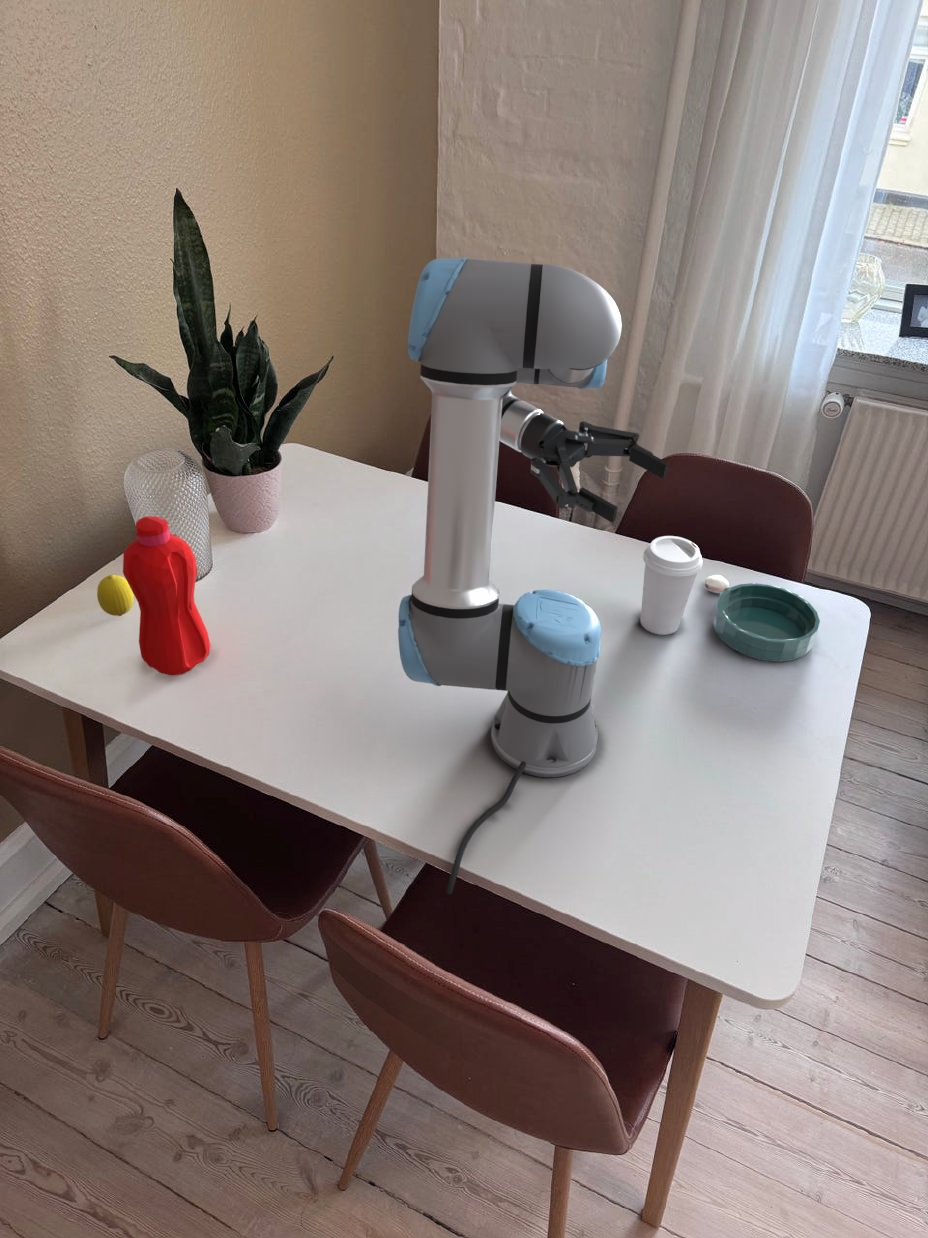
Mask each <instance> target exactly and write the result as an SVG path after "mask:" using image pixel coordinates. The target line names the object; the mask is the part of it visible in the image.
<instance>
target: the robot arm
mask: <svg viewBox="0 0 928 1238" xmlns="http://www.w3.org/2000/svg"><path fill="white" fill-rule="evenodd" d="M411 309H412V310H411V314H410V322H409V328H408V335H407V343H408V345H407V354H408V358H409V359H410V360H412V361H414V363H415V362H416V363H420V371H419V372H420V375H419V376H420V379H421V380H422V382H423V383H424V384H425V385H426V386H427V387H428V388H429V390H430V392H431V411H430V433H429V454H428V456H429V457H428V474H427V475H428V476H427V479H428V480H427V495H426V496H427V497H426V498H427V499H426V518H425V519H426V521H425V525H426V526H425V540H424V541H425V542H424V565H423V575H422V576H421V577H419V578H418V580H416V581H414V582H413V584H412V586H411V594H408V595H404V596H403V597H402V598H401V600H400V604H399V607H398V627H397V638H398V640H397V641H398V649H399V656H400V663H401V665H402V670H403V672H404V674H405V675H406V677H407V678H408V679H410V680H411V681H413V682H417V683H423V684H430V685H434V686H436V687H441V686H446V687H458V688H468V689H469V688H471V689H480V690H481V689H482V690H492V691H493V690H494V691H505V692H506V694H505V696H504V697H503V699H502V702H501V703H500V705H499V707H498V709H497V710H496V713H495V715H494V716H493V719H492V723H491V733H490V736H491V737H490V738H491V744H492V747H493V749H494V751H495V753H496V754H497V756H499V758H500V759H501V760H502V761H503V762H504V763H505V764H507V765H508V766H509V767H511V768H512V769H515V772H514V774H513V776H512V778H511V780H510V781H509V784H508V786H507V788H506V790H505V793H504V794H503V796H502V797H501V798H500V799H499V800H498V802H496V803H495V804H493V805H492V806H490V808H488V809H486V810H485V811H484V812H483V813H482V814H481V815H480V816H479V817H478V818H477V819H476V820H475V821H474V822H473V823H472V824H471V825H470V827H469V828H468V830H466V833H465V835H464V836H463V837H462V840H461V842H460V844H459V846H458V848H457V851H456V855H455V857H454V861H453V864H452V869H451V872H450V875H449V878H448V882H447V885H446V889H445V893H446V895H451V894H452V893H453V891H454V887H455V884H456V880H457V877H458V874H459V873H458V872H459V870H460V867H461V862H462V859H463V856H464V854H465V850H466V849H467V846H468V844H469V843H470V840H471V839H472V837H473V835H474V833H475V832H476V831H477V830H478V828H479V827H480V826H481V825H482V824H483V823H484V822H485V821H487V820H488V818H490V816H492V815H493V814H494V813H496V812H497V811H499V810H500V809H502V808H503V807H504V805H505V804H506V803H507V802H508V800H509V799H510V798H511V796H512V793H513V792H514V789H515V787H516V785H517V783H518V782H519V779H520V778H521V776H522V774H527V775H529V776H534V777H540V778H559V777H565V776H568V775H569V776H570V775H573V774H574V773H577V772H578V771H581V770H582V769H583V768H585V767H586V766H587V765H588V764H590V762H591V761H592V759H593V758H594V756H595V755H596V752H597V747H598V741H599V730H598V725H597V724H596V720H595V717H594V712H593V711H594V709H595V705H592V703H591V702H592V698H593V697H592V696H593V690H594V682H595V677H596V670H597V663H598V659H599V658H600V655H601V650H602V649H601V647H602V646H601V637H602V636H601V635H602V628H601V623H600V620H599V617H598V616H597V614H596V613H595V612H594V611H593V609H592V608H591V607H590V606H589V605H586V604H585V602H584V601H583V600H581V599H579V598H577V597H576V596H574V595H571V594H569V593H566V592H564V591H561V590H560V591H559V590H554V589H535V590H533V591H532V592H526V593H524V594H523V595H521V596H520V597H519V598H518V600H516V602H515V603H514V604H509V603H508V604H507V603H500V590H499V588H498V587H497V586H496V585H495V583H493V581H492V580H491V579H490V574H491V573H490V572H491V561H492V560H491V558H492V545H493V531H494V519H495V506H496V505H495V504H496V492H497V491H496V490H497V477H498V464H499V451H500V450H499V449H500V442H501V443H503V444H504V445H506V446H508V447H509V448H511V449H513V450H515V451H516V452H519V453H522V455H524V456H525V457H527V458H528V459H530V460H531V461H530V474H531V475H533V476H534V477H535V478H537V479H538V480H539V481H540V483H541V484H542V485H543V487H544V489H545V490H546V491H547V493H548V494H549V496H550V497H551V499H552V500H553V501H554V503H555V505H556V506H557V507H558V509H561V510H562V509H566V506H567V507H568V508H569V509H575V508H576V506H577V507H579V508H581V509H582V510H584V511H586V512H588V513H592V512H593V513H594V514H596V515H598V516H599V517H601V518H603V519H604V520H606V521H608V522H610V523H614V522H615V521H616V518H617V513H618V506H617V505H615V504H613V503H612V502H610V501H608V500H606V499H604V498H603V497H600V496H599V495H597V494H595V493H593V492H592V491H590V490H588V489H586V488H585V487H581V488H580V489H579V490H578V487H577V485H576V481H575V478H574V475H573V472H572V468H573V467H574V466H576V464H578V463H579V462H581V461H583V460H584V459H590V458H592V457H594V456H595V457H599V456H600V457H629V458H628V461H629V462H631V463H633V464H635V465H636V466H638V467H640V468H642V469H644V470H646V471H648V472H649V473H652V474H653V475H655V476H657V477H659V478H660V479H664V478H666V475H667V473H668V467H669V462H667V461H665V460H663V459H662V458H660V457H658V456H656V455H654V453H653V452H652V451H650V450H648V449H646V448H645V447H642V446H641V445H639V440H640V434H639V433H636V432H631V431H626V430H622V429H617V428H616V429H615V428H609V427H604V426H598V425H595V424H591V423H589V422H587V421H580V422H579V426H578V428H577V429H576V430H570V429H568V428H567V427H566V426H565V425H564V422H563V421H561V420H560V419H558V418H556V417H554V416H552V415H551V414H549V413H546V412H544V411H542V410H541V409H540V408H538V407H536V406H534V405H532V404H530V403H528V402H526V401H524V400H522V399H521V398H519V397H517V396H515V395H513V394H512V388H514V386H515V385H516V384H526V385H527V384H528V385H545V386H556V387H567V388H577V389H580V390H581V389H582V390H586V389H599V388H601V387H602V386H603V385H604V383H605V380H606V379H605V378H606V374H607V367H608V359H609V358H610V357H611V356H612V354H613V353H614V351H615V350H616V348H617V346H618V344H619V342H620V339H621V335H622V317H621V313H620V311H619V308H618V306H617V304H616V302H615V300H614V299H613V297H612V296H611V295H610V293H609V292H607V290H606V289H604V287H602V286H601V285H600V284H598V283H597V282H596V281H594V280H593V279H591V278H590V277H588V276H586V275H584V274H583V273H580V272H579V271H577V270H574V269H571V268H569V267H565V266H561V265H557V264H549V263H541V264H540V263H530V262H529V263H527V262H515V261H504V260H503V261H501V260H491V259H477V258H476V259H475V258H468V257H466V256H464V257H459V258H457V257H453V258H449V257H448V258H435V259H432V260H431V261H429V262H428V263H426V265H425V266H424V267H423V270H422V272H421V273H420V277H419V279H418V282H417V285H416V291H415V295H414V299H413V304H412V308H411ZM585 444H586V445H585ZM550 467H552V468H556V471H557V475H558V477H559V478H560V481H561V483H560V482H559V480H558V478H557V477H556V476H555V474H554V473H553V471H552V469H550Z"/></svg>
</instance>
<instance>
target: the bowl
mask: <svg viewBox="0 0 928 1238" xmlns="http://www.w3.org/2000/svg"><path fill="white" fill-rule="evenodd" d="M820 622H821V620H820V617H819V615H818V611H817V610H816V609H815V608H814V607H813V605H812V604H811V603H810V602H809V601H808V600H806V599H805V598H803V597H802V596H801V595H799V594H798V593H795V592H793V591H790V590H788V589H786V588H784V587H779V586H776V585H772V584H767V583H757V582H750V583H740V584H737V585H734V586H731V587H729V588H728V589H727V590H726V591H725V592H723V593H720V595H719V599H718V600H717V603H716V607H715V611H714V614H713V619H712V624H713V628H714V631H715V634H717V636H718V637H719V639H720V640H721V641H722V642H724V643H725V644H726V645H727V646H729V647H730V648H731V649H732V650H735V651H737V652H738V653H741V654H743V655H745V656H747V657H750V658H754V659H758V660H761V661H769V662H787V661H794V660H796V659H799V658H802V657H804V656H806V655H807V654H808V653H809V652H810V650H812V648H813V646H814V643H815V640H816V638H817V634H818V631H819V628H820Z"/></svg>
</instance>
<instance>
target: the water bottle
mask: <svg viewBox="0 0 928 1238" xmlns="http://www.w3.org/2000/svg"><path fill="white" fill-rule="evenodd" d="M135 529H136V530H135V531H136V533H135V534H134V536H136V537H137V539H135V540H133V541H132V542H131V543H129V544H128V545H127V547H126V548H125V550H124V551H123V556H122V557H123V558H122V559H123V560H122V573H123V577H124V578H125V579H126V580H127V582H128V584H129V586H130V588H131V590H132V592H133V595H134V598H135V600H136V601H137V604H138V607H139V612H140V615H139V631H138V645H139V646H138V647H139V652H140V656H141V658H142V660H143V661H144V662H145V664H146V665H147V666H148V667H149V668H151V669H154V670H156V671H157V672H158V673H159V674H162V675H166V676H170V677H174V676H179V675H184V674H186V673H188V672H190V671H192V670H193V669H194V668H195V667H196V666H198V665H199V664H201V663H204V661H205V660H206V659H207V658H208V657H209V656H210V651H211V642H210V638H209V633H208V631H207V627H206V625H205V622H204V621H203V619H202V616H201V614H200V612H199V609H198V607H197V604H196V603H195V587H196V579H197V576H198V568H197V559H196V556H195V554H194V552H193V550H192V548H191V546H190V545H189V544H188V543H187V541H186V540H184V539H182V538H181V537H180V536H179V535H177V534H176V533H172V532H171V530H170V527H169V522H168V521H167V519H165V518H163V517H160V516H154V515H153V516H152V515H148V516H147V515H146V516H143V517H142V518H139V519H138V520H137V521H136V522H135Z"/></svg>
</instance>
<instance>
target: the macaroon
mask: <svg viewBox="0 0 928 1238" xmlns="http://www.w3.org/2000/svg"><path fill="white" fill-rule="evenodd" d="M703 583H704V584H703V585H704V588H705V589H706V590H708V591H709V592H711V593H714V594H722V593H723V592H725V591H726V590H727V589H728V588H730V584H729V581H728V580H727V579H726V578H725V577H724V576H723V575H720V574H713V575H710V576H708V577H706V578H705V580H704V582H703Z"/></svg>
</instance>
